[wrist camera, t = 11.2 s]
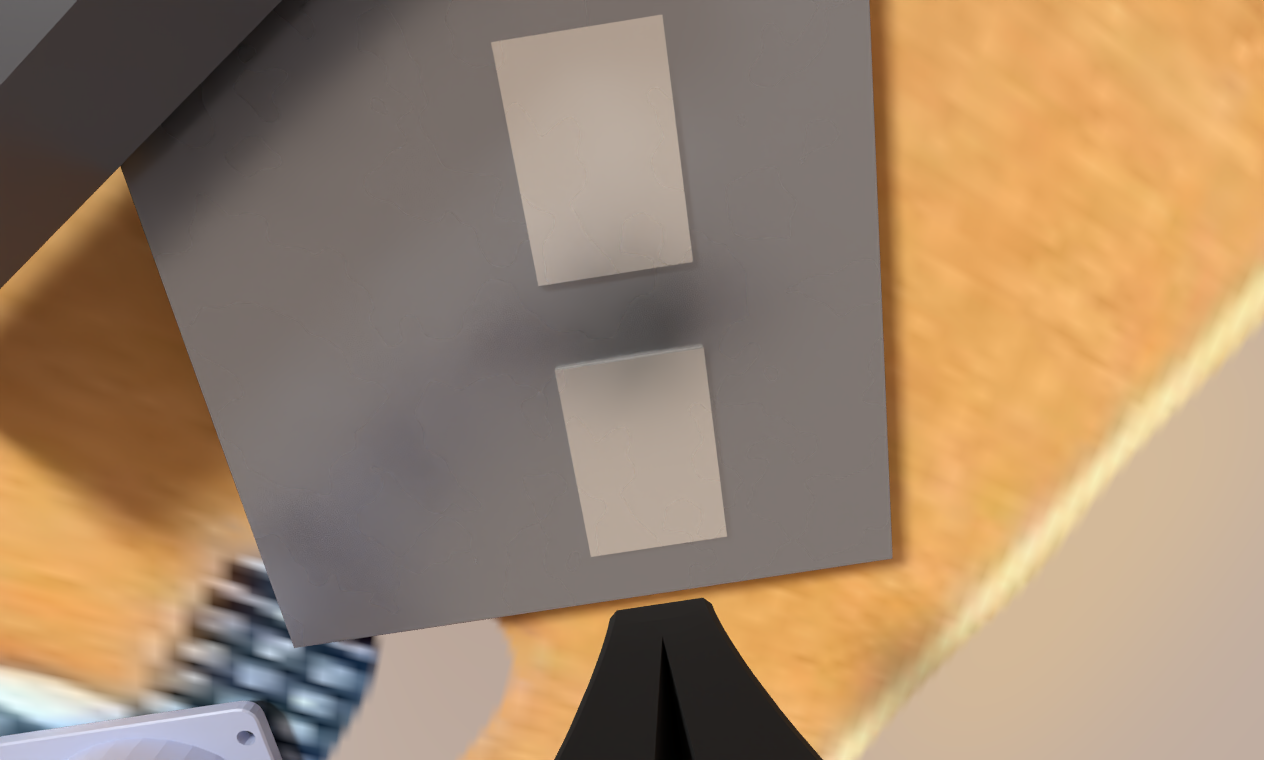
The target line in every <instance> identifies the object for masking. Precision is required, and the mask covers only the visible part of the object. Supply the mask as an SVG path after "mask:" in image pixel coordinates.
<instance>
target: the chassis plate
mask: <svg viewBox="0 0 1264 760" xmlns="http://www.w3.org/2000/svg"><path fill="white" fill-rule="evenodd" d="M121 169H122V172H123V174H124V177H125V180H126V183H127V185H128V188H129V191H130V194H131V197H132V199H133V202H134V205H135V208H136V210H137V213H138V216H139V219H140V221H141V224H142V227H143V230H144V233H145V235H146V238H147V241H148V244H149V246H150V249H151V252H152V255H153V258H154V260H155V263H156V266H157V269H158V271H159V274H160V277H161V280H162V282H163V285H164V288H165V291H166V294H167V296H168V299H169V302H170V305H171V307H172V310H173V313H174V316H175V318H176V321H177V324H178V327H179V330H180V332H181V335H182V338H183V341H184V343H185V346H186V349H187V352H188V355H189V357H190V360H191V363H192V366H193V368H194V371H195V374H196V377H197V379H198V382H199V385H200V388H201V391H202V393H203V396H204V399H205V402H206V404H207V407H208V410H209V413H210V415H211V418H212V421H213V424H214V427H215V429H216V432H217V435H218V438H219V440H220V443H221V446H222V449H223V452H224V454H225V457H226V460H227V463H228V465H229V468H230V471H231V474H232V476H233V479H234V482H235V485H236V488H237V490H238V493H239V496H240V499H241V501H242V504H243V507H244V510H245V512H246V515H247V518H248V521H249V524H250V526H251V529H252V532H253V535H254V537H255V540H256V543H257V546H258V549H259V551H260V554H261V557H262V560H263V562H264V565H265V568H266V571H267V573H268V576H269V579H270V582H271V585H272V587H273V590H274V593H275V596H276V598H277V601H278V604H279V607H280V610H281V612H282V615H283V618H284V621H285V623H286V626H287V629H288V632H289V634H290V637H291V640H292V643H293V646H294V648H297V647H303V646H310V645H317V644H323V643H330V642H337V641H344V640H350V639H357V638H364V637H370V636H377V635H383V634H390V633H397V632H403V631H410V630H417V629H424V628H430V627H437V626H444V625H451V624H457V623H464V622H471V621H477V620H484V619H491V618H497V617H504V616H511V615H518V614H524V613H531V612H538V611H544V610H551V609H558V608H564V607H571V606H578V605H585V604H591V603H598V602H605V601H611V600H618V599H625V598H631V597H638V596H645V595H651V594H658V593H665V592H672V591H678V590H685V589H692V588H698V587H705V586H712V585H718V584H725V583H732V582H738V581H745V580H752V579H759V578H765V577H772V576H779V575H785V574H792V573H799V572H805V571H812V570H819V569H825V568H832V567H839V566H846V565H852V564H859V563H866V562H872V561H879V560H886V559H892V535H891V511H890V487H889V463H888V439H887V414H886V390H885V366H884V342H883V318H882V294H881V270H880V246H879V222H878V198H877V174H876V150H875V126H874V102H873V78H872V54H871V30H870V6H869V0H282V1H281V2H280V3H279V4H278V5H277V6H276V7H275V8H274V9H273V10H272V11H271V12H270V13H269V14H268V15H267V16H266V17H265V18H264V19H263V20H262V21H261V22H260V23H259V24H258V25H257V26H256V27H255V28H254V29H253V30H252V31H251V32H250V33H249V34H248V36H247V37H246V38H245V39H244V40H243V41H242V42H241V43H240V44H239V45H238V46H237V47H236V48H235V49H234V50H233V51H232V52H231V53H230V54H229V55H228V56H227V57H226V58H225V59H224V60H223V61H222V62H221V63H220V64H219V65H218V66H217V67H216V68H215V69H214V70H213V71H212V72H211V73H210V74H209V75H208V76H207V78H206V79H205V80H204V81H203V82H202V83H201V84H200V85H199V86H198V87H197V88H196V89H195V90H194V91H193V92H192V93H191V94H190V95H189V96H188V97H187V98H186V99H185V100H184V101H183V102H182V103H181V104H180V105H179V106H178V107H177V108H176V109H175V110H174V111H173V112H172V113H171V114H170V115H169V116H168V117H167V118H166V120H165V121H164V122H163V123H162V124H161V125H160V126H159V127H158V128H157V129H156V130H155V131H154V132H153V133H152V134H151V135H150V136H149V137H148V138H147V139H146V140H145V141H144V142H143V143H142V144H141V145H140V146H139V147H138V148H137V149H136V150H135V151H134V152H133V153H132V154H131V155H130V156H129V157H128V158H127V159H126V160H125V162H124V163H123V164H122V165H121Z"/></svg>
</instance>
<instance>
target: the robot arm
mask: <svg viewBox="0 0 1264 760" xmlns="http://www.w3.org/2000/svg"><path fill="white" fill-rule="evenodd" d="M247 731H249V732H251V733H253V734H250V733H248V732H247ZM0 760H282V757H281V755H280V752H279V750H278V747H277V745H276V742H275V739H274V737H273V734H272V732H271V729H270V727H269V724H268V721H267V719H266V716H265V714H264V712H263V710H262V709H261V707H260V706H259V705H257V704H256V703H254V702H251V701H236V702H230V703H223V704H216V705H209V706H203V707H196V708H189V709H183V710H176V711H169V712H162V713H156V714H149V715H142V716H135V717H129V718H122V719H115V720H108V721H102V722H95V723H88V724H81V725H75V726H68V727H61V728H54V729H48V730H41V731H34V732H28V733H21V734H14V735H7V736H2V737H0ZM554 760H823V759H822V758H821V757H820V756H819V755H818V754H817V752H816V751H815V750H814V749H813V748H812V747H811V746H810V744H809V743H808V742H807V741H806V740H805V739H804V737H803V736H802V735H801V734H800V733H799V732H798V731H797V729H796V728H795V727H794V726H793V724H792V723H791V722H790V721H789V720H788V718H787V717H786V716H785V715H784V713H783V712H782V711H781V710H780V708H779V707H778V706H777V704H776V703H775V702H774V701H773V699H772V698H771V697H770V695H769V694H768V693H767V691H766V690H765V689H764V687H763V686H762V685H761V683H760V682H759V681H758V679H757V678H756V677H755V675H754V674H753V673H752V671H751V670H750V668H749V667H748V666H747V664H746V663H745V661H744V660H743V658H742V657H741V655H740V654H739V652H738V651H737V649H736V648H735V646H734V645H733V643H732V641H731V640H730V638H729V637H728V635H727V633H726V632H725V630H724V628H723V626H722V625H721V623H720V621H719V619H718V617H717V615H716V613H715V611H714V609H713V606H712V604H711V603H710V602H708V601H707V600H705V599H704V598H698V599H691V600H684V601H678V602H671V603H664V604H658V605H651V606H644V607H637V608H631V609H624V610H617V611H616V612H615V613H614V615H613V616H612V617H611V618H610V621H609V626H608V630H607V633H606V637H605V640H604V643H603V646H602V649H601V652H600V655H599V658H598V661H597V663H596V666H595V669H594V671H593V674H592V677H591V679H590V682H589V685H588V687H587V689H586V692H585V694H584V696H583V699H582V701H581V703H580V706H579V708H578V710H577V713H576V715H575V717H574V720H573V722H572V724H571V727H570V729H569V731H568V733H567V735H566V737H565V739H564V742H563V743H562V745H561V747H560V749H559V751H558V753H557V755H556V757H555V759H554Z"/></svg>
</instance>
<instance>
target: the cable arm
mask: <svg viewBox="0 0 1264 760" xmlns="http://www.w3.org/2000/svg"><path fill="white" fill-rule="evenodd" d="M281 1H282V0H0V289H1V287H2V286H3V285H4V284H5V283H6V282H7V281H8V280H9V279H10V278H11V277H12V276H13V275H14V274H15V273H16V272H17V271H18V270H19V269H20V268H21V267H22V266H23V265H24V264H25V263H26V262H27V261H28V260H29V259H30V258H31V257H32V256H33V255H34V254H35V253H36V252H37V251H38V250H39V249H40V248H41V247H42V245H43V244H44V243H45V242H46V241H47V240H48V239H49V238H50V237H51V236H52V235H53V234H54V233H55V232H56V231H57V230H58V229H59V228H60V227H61V226H62V225H63V224H64V223H65V222H66V221H67V220H68V219H69V218H70V217H71V216H72V215H73V214H74V213H75V212H76V211H77V210H78V209H79V208H80V207H81V206H82V205H83V203H84V202H85V201H86V200H87V199H88V198H89V197H90V196H91V195H92V194H93V193H94V192H95V191H96V190H97V189H98V188H99V187H100V186H101V185H102V184H103V183H104V182H105V181H106V180H107V179H108V178H109V177H110V176H111V175H112V174H113V173H114V172H115V171H116V170H117V169H118V168H119V167H120V166H121V165H122V164H123V163H124V162H125V160H126V159H127V158H128V157H129V156H130V155H131V154H132V153H133V152H134V151H135V150H136V149H137V148H138V147H139V146H140V145H141V144H142V143H143V142H144V141H145V140H146V139H147V138H148V137H149V136H150V135H151V134H152V133H153V132H154V131H155V130H156V129H157V128H158V127H159V126H160V125H161V124H162V123H163V122H164V121H165V120H166V118H167V117H168V116H169V115H170V114H171V113H172V112H173V111H174V110H175V109H176V108H177V107H178V106H179V105H180V104H181V103H182V102H183V101H184V100H185V99H186V98H187V97H188V96H189V95H190V94H191V93H192V92H193V91H194V90H195V89H196V88H197V87H198V86H199V85H200V84H201V83H202V82H203V81H204V80H205V79H206V78H207V76H208V75H209V74H210V73H211V72H212V71H213V70H214V69H215V68H216V67H217V66H218V65H219V64H220V63H221V62H222V61H223V60H224V59H225V58H226V57H227V56H228V55H229V54H230V53H231V52H232V51H233V50H234V49H235V48H236V47H237V46H238V45H239V44H240V43H241V42H242V41H243V40H244V39H245V38H246V37H247V36H248V34H249V33H250V32H251V31H252V30H253V29H254V28H255V27H256V26H257V25H258V24H259V23H260V22H261V21H262V20H263V19H264V18H265V17H266V16H267V15H268V14H269V13H270V12H271V11H272V10H273V9H274V8H275V7H276V6H277V5H278V4H279V3H280V2H281Z"/></svg>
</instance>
